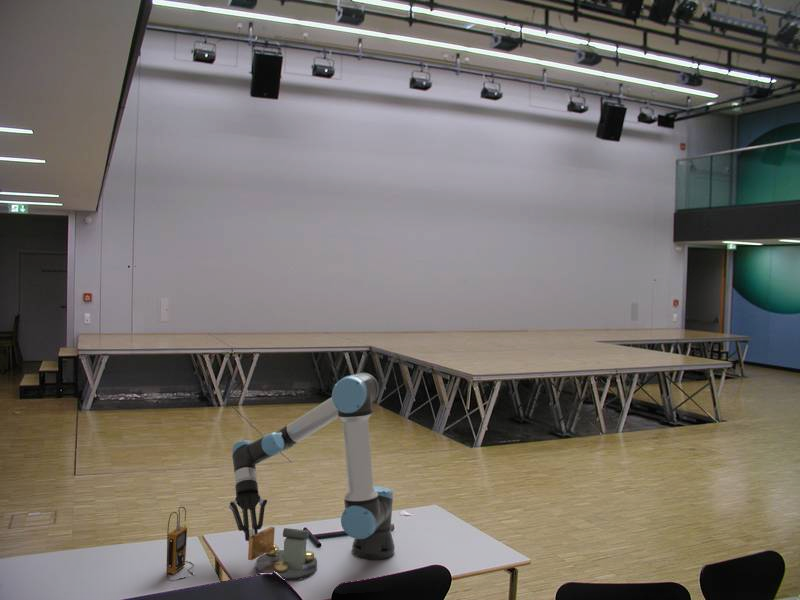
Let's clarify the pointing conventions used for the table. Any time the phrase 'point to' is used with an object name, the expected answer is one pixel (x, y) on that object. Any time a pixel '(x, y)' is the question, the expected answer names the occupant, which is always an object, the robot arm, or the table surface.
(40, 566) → the table surface
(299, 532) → the wedge with rod handle
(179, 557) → the multimeter
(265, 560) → the tribrach plate
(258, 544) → the lever
